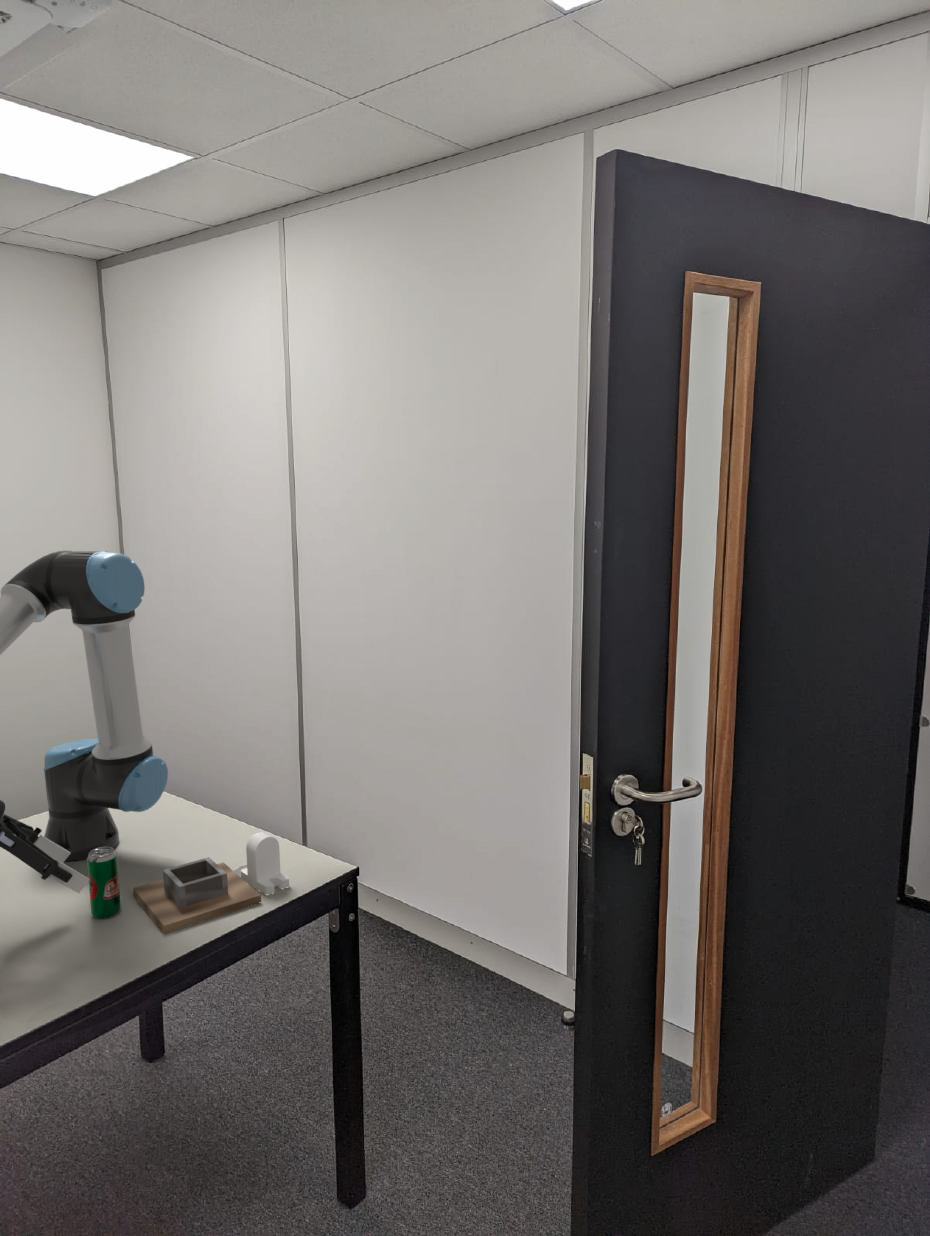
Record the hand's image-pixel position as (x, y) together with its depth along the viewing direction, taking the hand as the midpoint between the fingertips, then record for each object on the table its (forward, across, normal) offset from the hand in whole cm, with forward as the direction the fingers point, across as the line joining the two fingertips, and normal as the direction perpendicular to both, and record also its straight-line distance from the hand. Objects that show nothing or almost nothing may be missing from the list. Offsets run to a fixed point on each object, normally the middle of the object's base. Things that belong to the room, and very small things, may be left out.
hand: (74, 872), depth 153 cm
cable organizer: (+30, +6, +16) cm, 35 cm away
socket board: (+21, +4, +7) cm, 23 cm away
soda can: (+10, -1, -4) cm, 11 cm away
